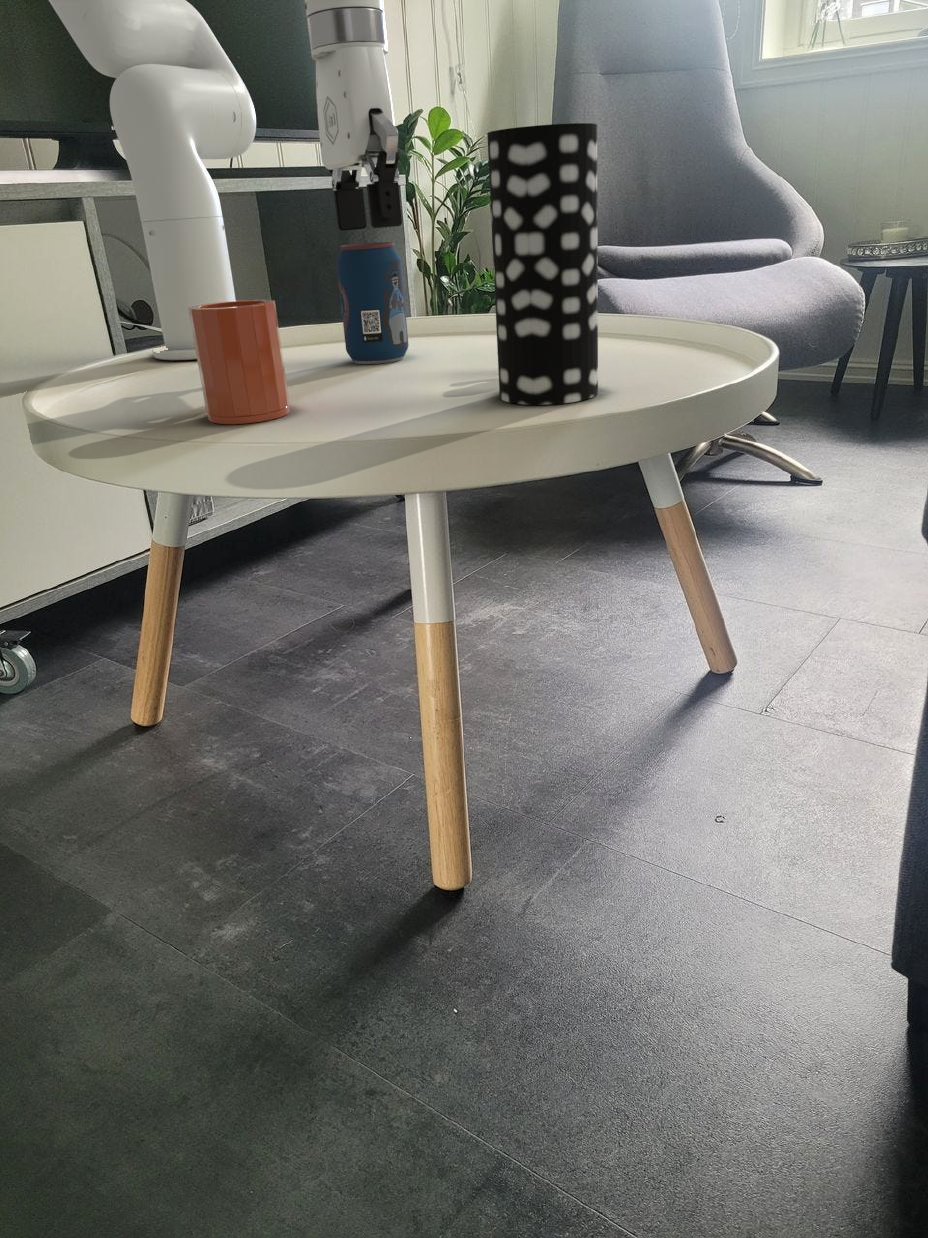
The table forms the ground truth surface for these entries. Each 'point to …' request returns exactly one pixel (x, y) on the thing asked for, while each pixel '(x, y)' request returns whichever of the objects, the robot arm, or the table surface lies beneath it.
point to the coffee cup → (240, 361)
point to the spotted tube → (545, 261)
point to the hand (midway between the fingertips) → (369, 228)
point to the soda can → (372, 302)
